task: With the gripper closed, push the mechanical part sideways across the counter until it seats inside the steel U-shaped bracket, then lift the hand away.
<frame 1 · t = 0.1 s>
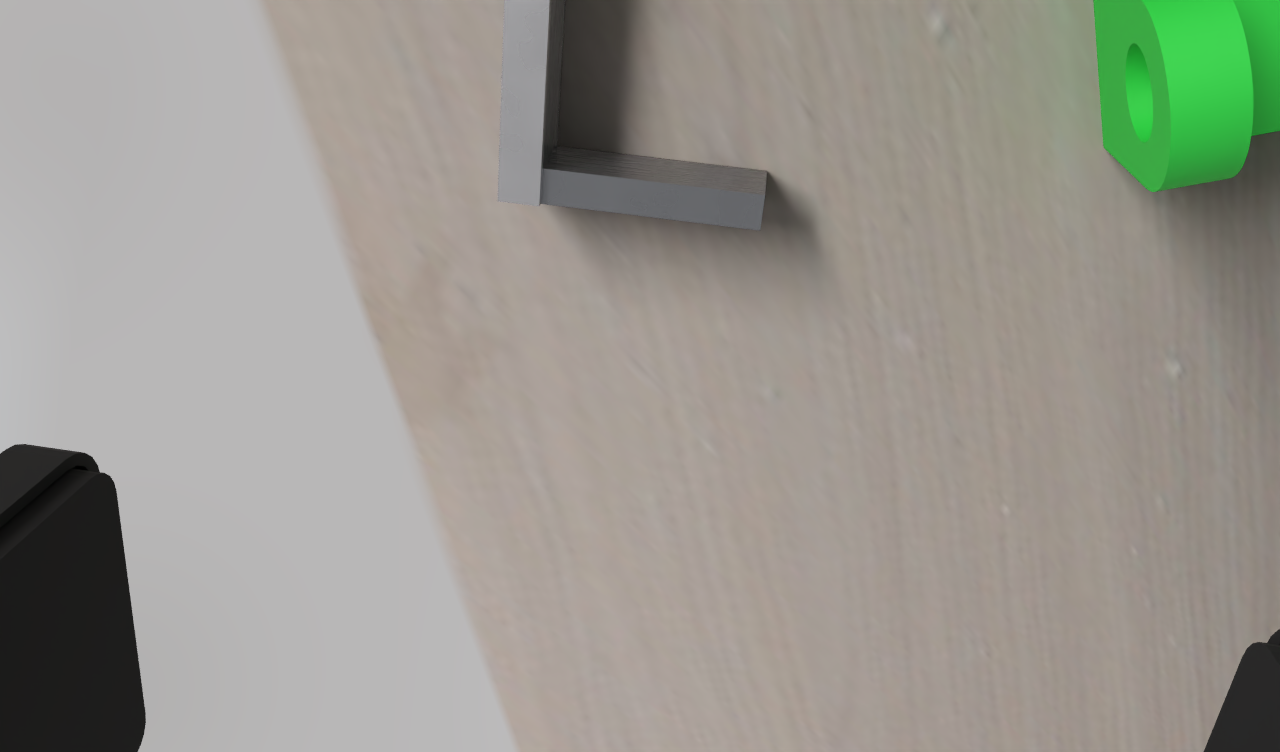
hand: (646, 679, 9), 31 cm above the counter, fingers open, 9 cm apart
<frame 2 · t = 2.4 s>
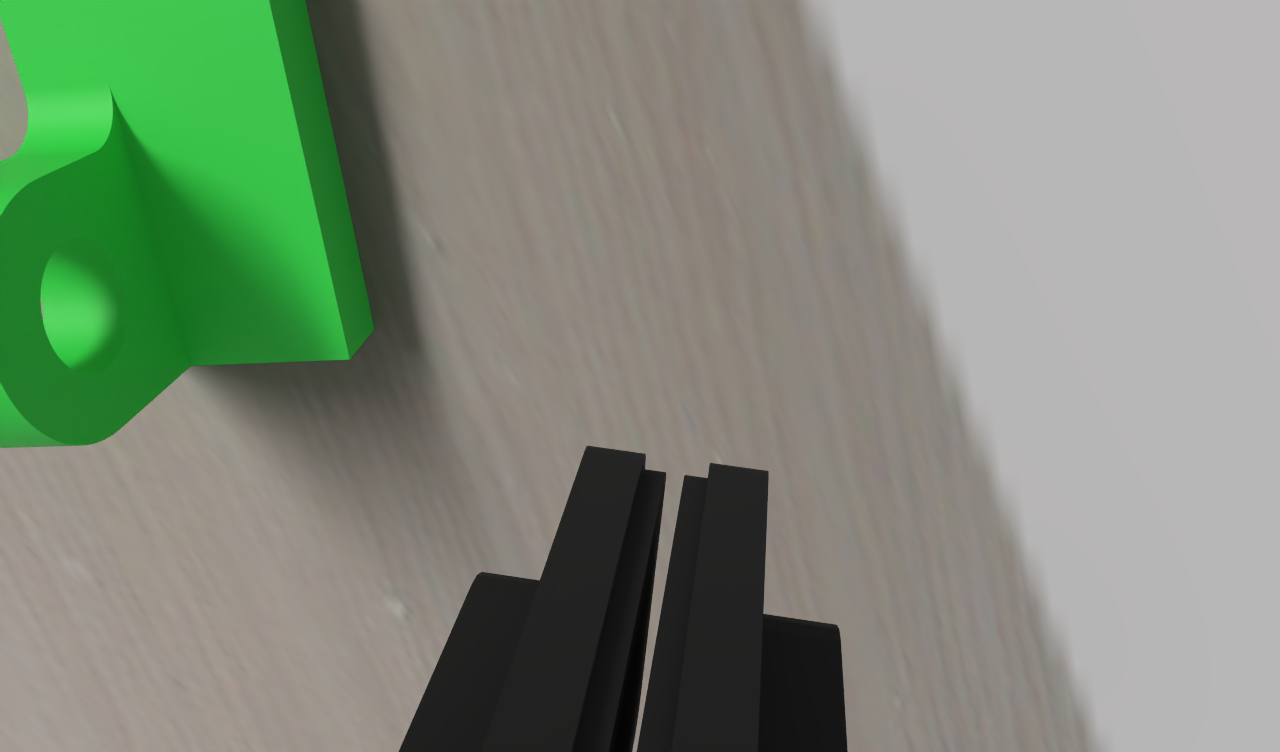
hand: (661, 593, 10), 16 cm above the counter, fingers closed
mechanical part: (207, 91, 26), on the counter
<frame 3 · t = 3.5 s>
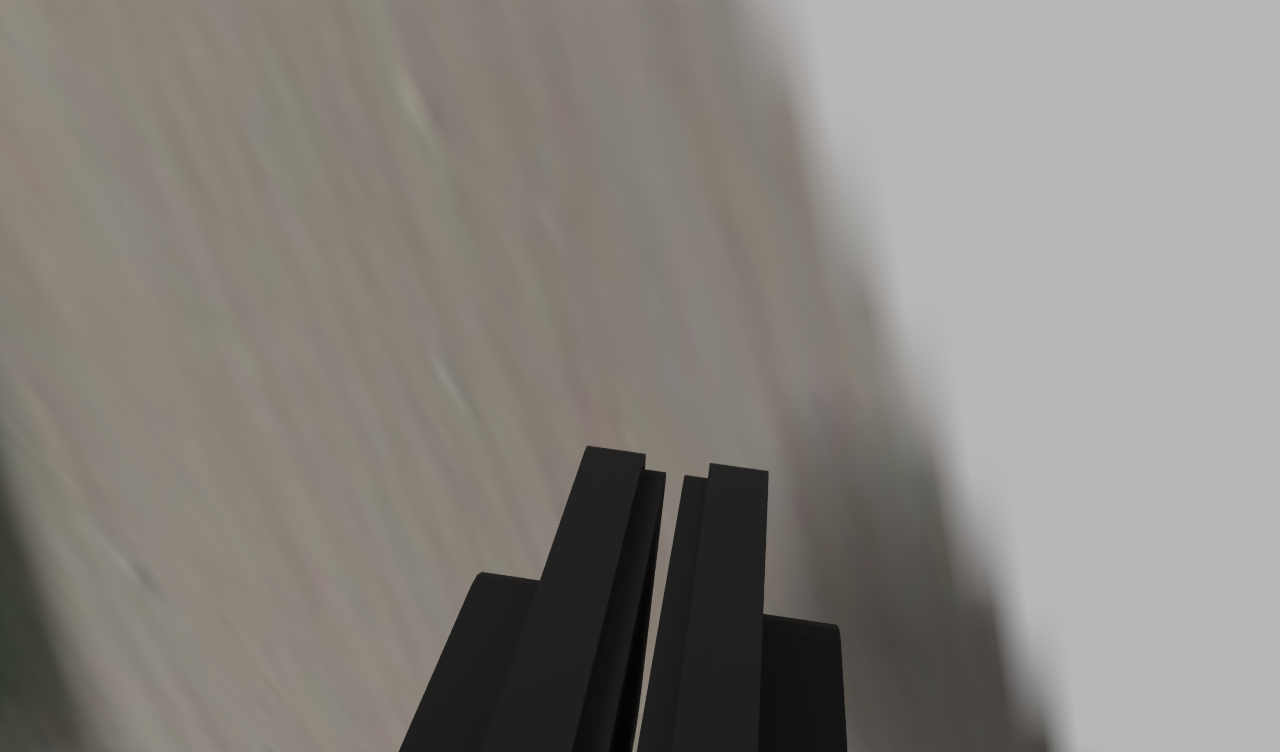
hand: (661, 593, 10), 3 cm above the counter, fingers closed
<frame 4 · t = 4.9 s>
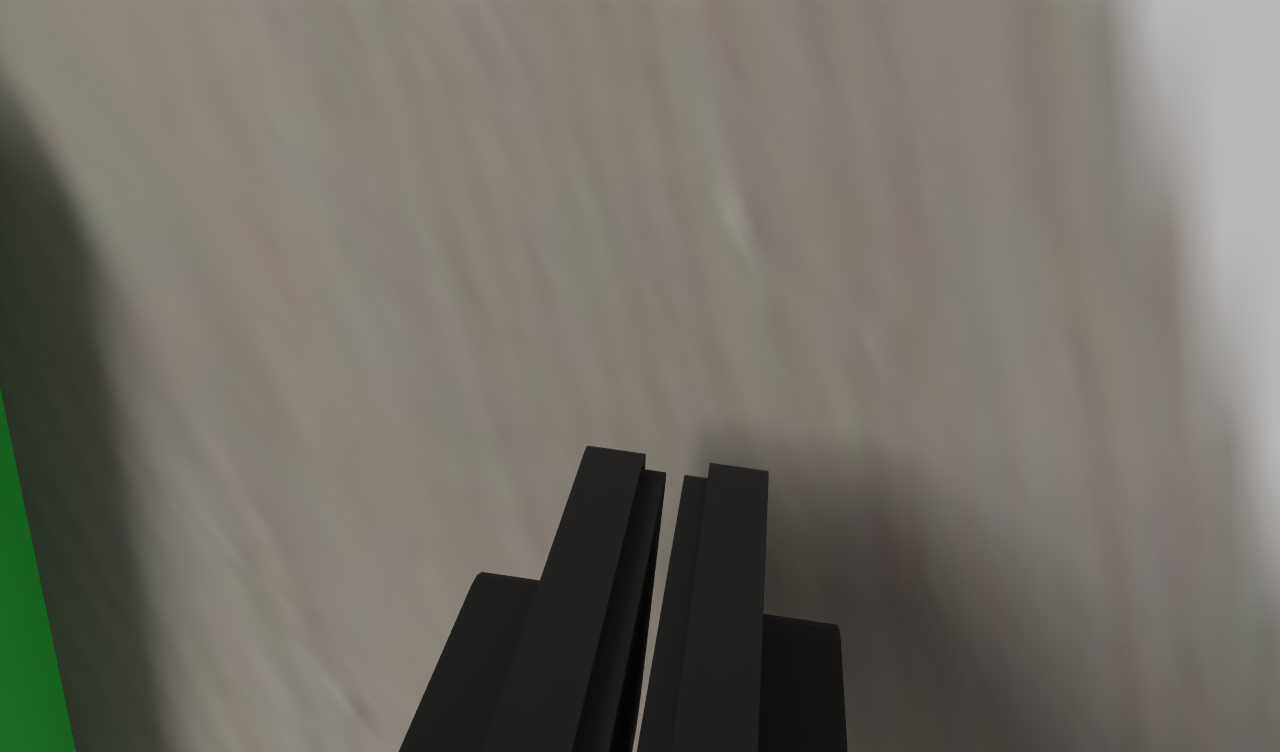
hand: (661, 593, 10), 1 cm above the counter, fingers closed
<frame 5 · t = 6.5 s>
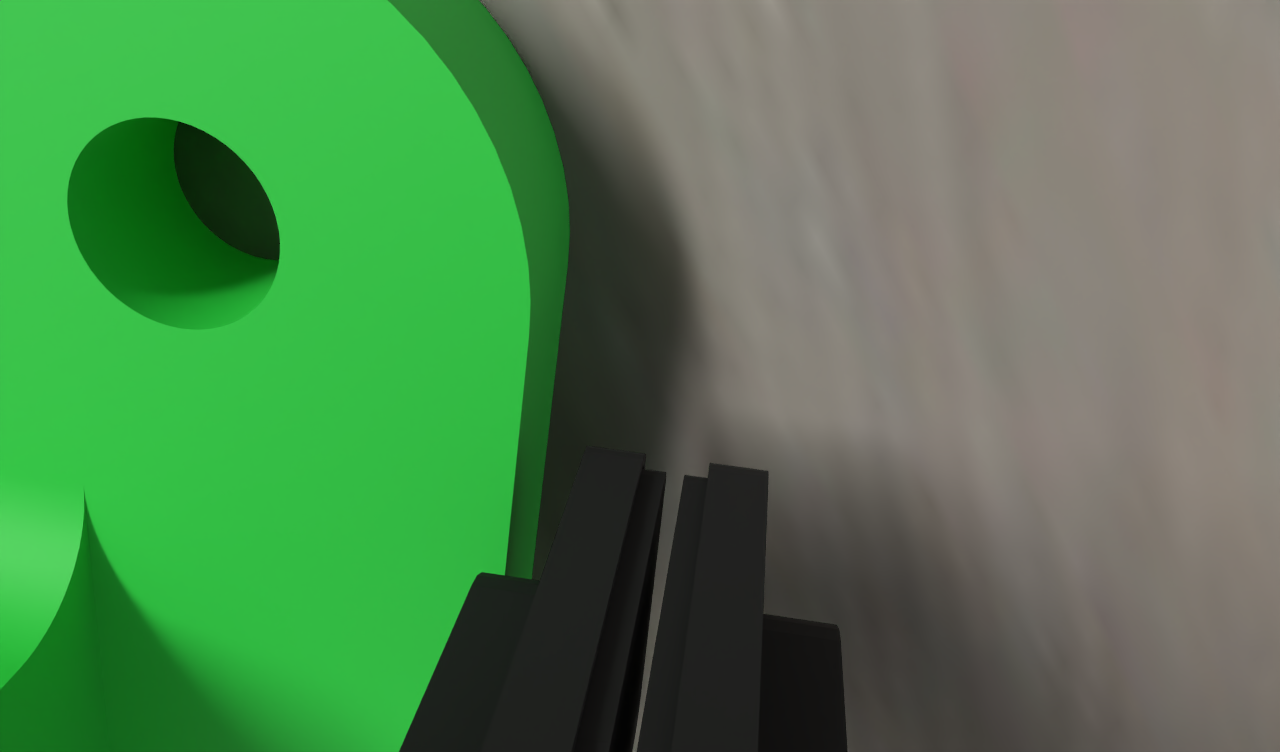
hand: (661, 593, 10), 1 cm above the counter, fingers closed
mechanical part: (284, 453, 13), on the counter
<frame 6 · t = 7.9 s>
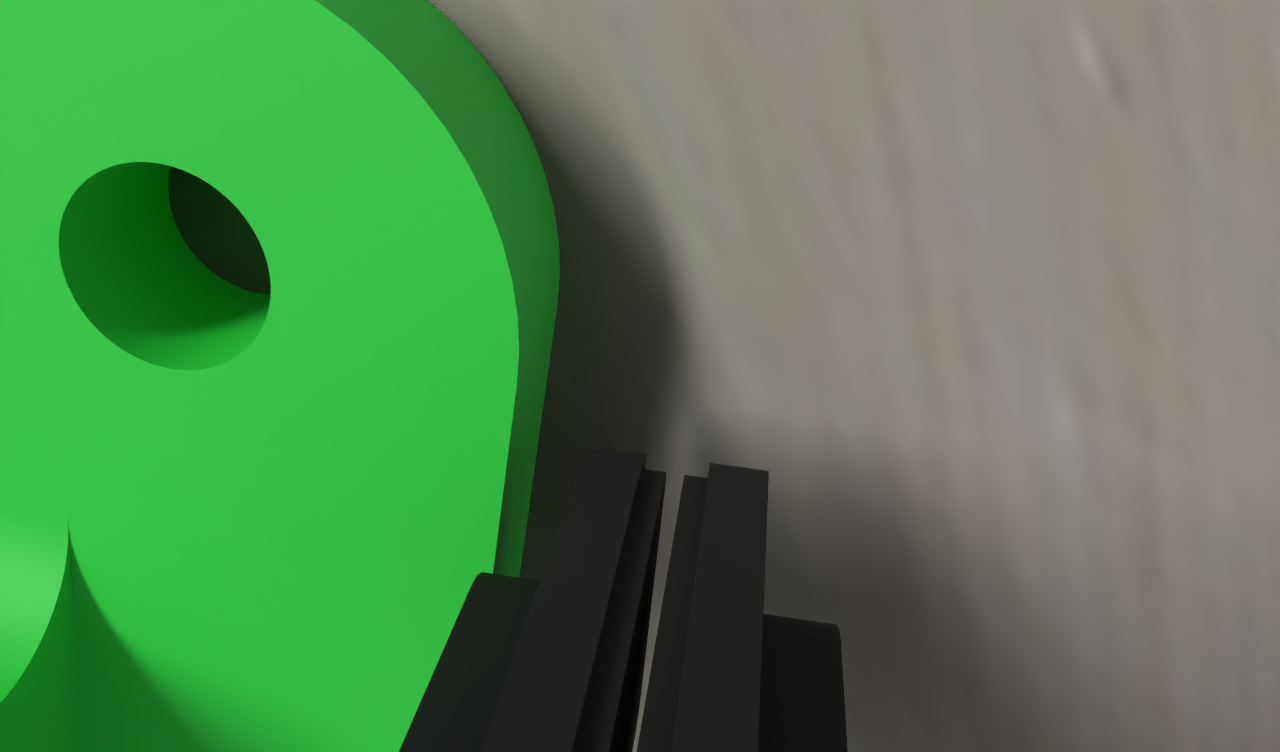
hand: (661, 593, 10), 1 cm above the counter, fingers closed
mechanical part: (269, 484, 13), on the counter
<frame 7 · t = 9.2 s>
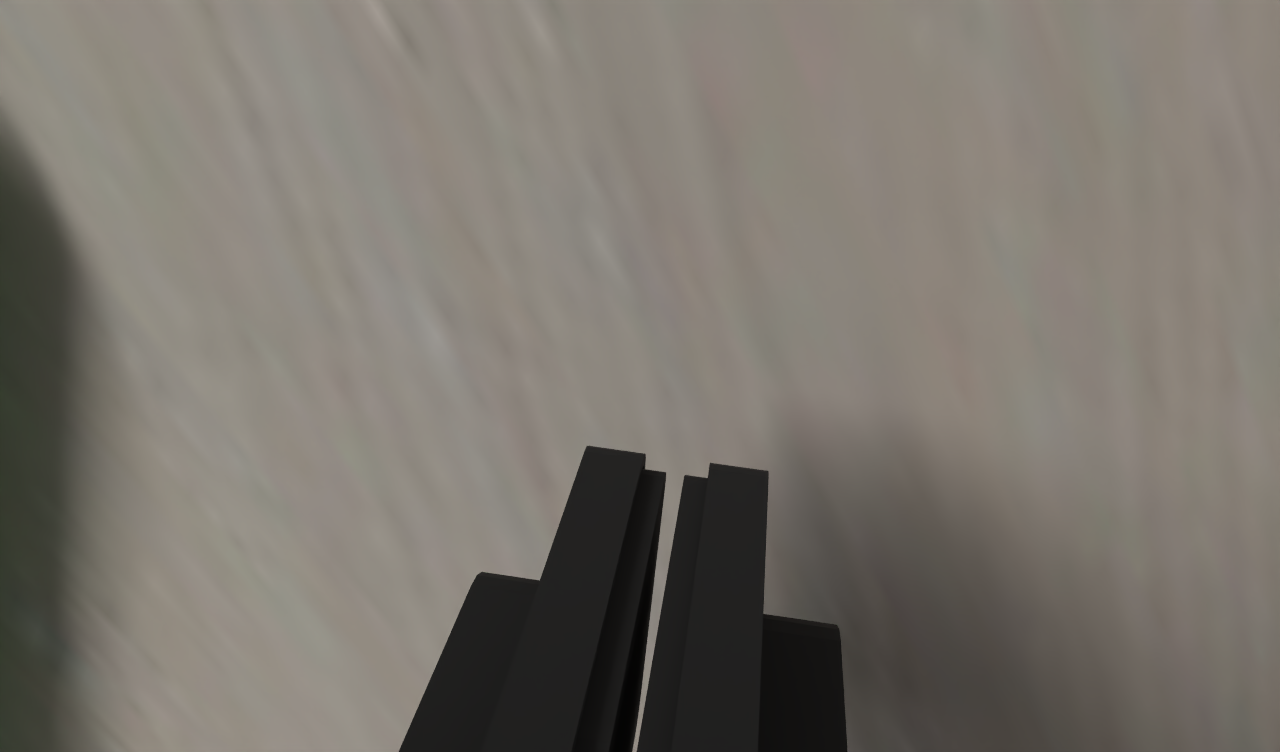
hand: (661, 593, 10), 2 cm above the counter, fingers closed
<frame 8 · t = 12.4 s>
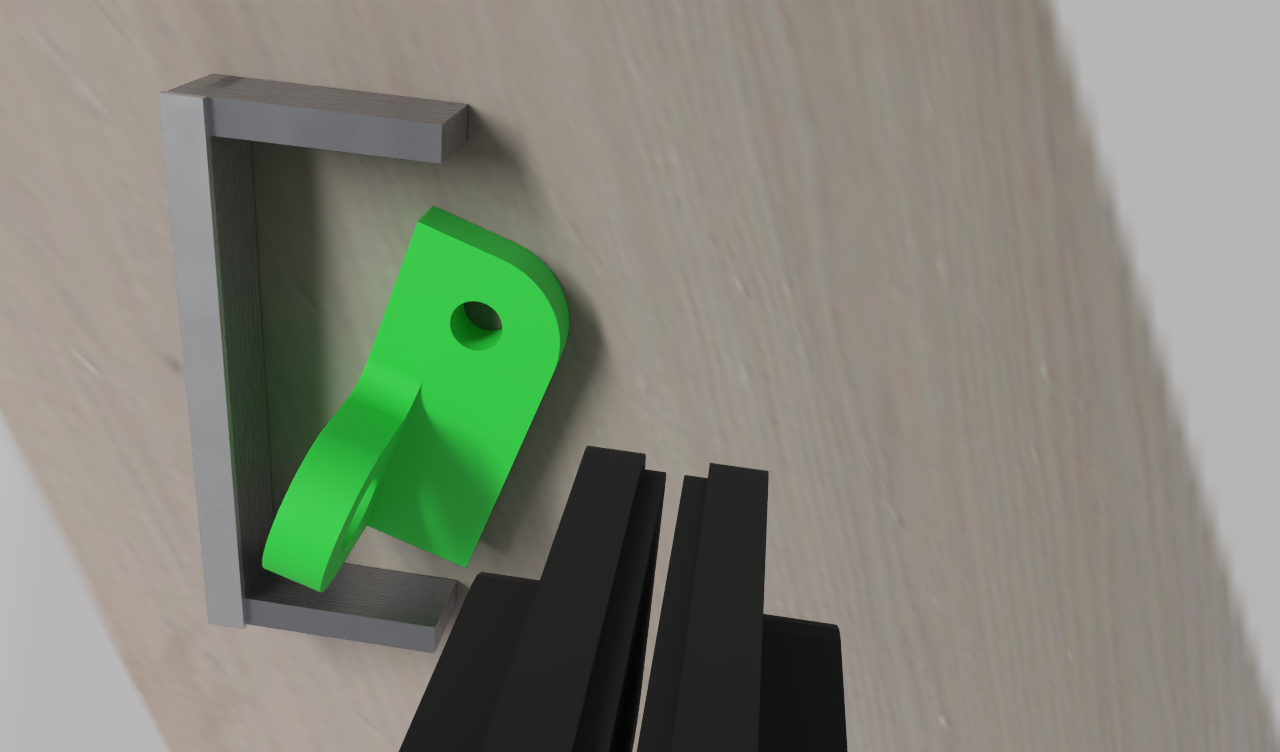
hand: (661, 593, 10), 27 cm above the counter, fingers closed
steel bracket: (380, 370, 41), on the counter
mechanical part: (460, 380, 41), on the counter
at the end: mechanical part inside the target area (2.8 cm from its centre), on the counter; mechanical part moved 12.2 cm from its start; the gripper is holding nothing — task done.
